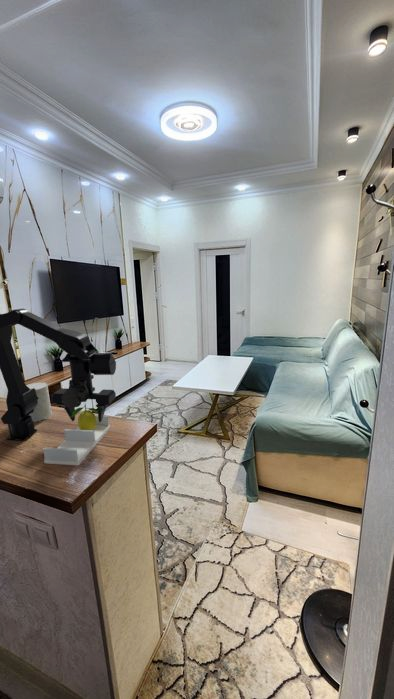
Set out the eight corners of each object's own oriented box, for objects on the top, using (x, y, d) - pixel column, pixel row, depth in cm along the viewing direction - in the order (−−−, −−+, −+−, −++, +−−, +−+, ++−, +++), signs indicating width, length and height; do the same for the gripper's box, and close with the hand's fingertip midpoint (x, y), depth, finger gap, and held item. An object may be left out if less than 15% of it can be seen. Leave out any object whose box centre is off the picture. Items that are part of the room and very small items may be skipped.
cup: (41, 422, 104) (36, 391, 101) (22, 421, 105) (16, 390, 102) (56, 412, 111) (52, 383, 109) (38, 411, 113) (33, 382, 110)
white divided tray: (44, 463, 80) (42, 448, 79) (82, 426, 100) (81, 414, 99) (78, 465, 79) (76, 450, 78) (110, 427, 99) (109, 415, 98)
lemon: (73, 437, 91) (69, 407, 89) (81, 427, 97) (78, 400, 95) (94, 437, 91) (91, 407, 89) (101, 428, 97) (98, 400, 94)
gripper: (36, 383, 83) (44, 432, 87) (98, 384, 81) (103, 435, 84) (58, 371, 94) (65, 415, 97) (114, 372, 91) (118, 417, 95)
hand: (86, 421), depth 93 cm, fingers open, 9 cm apart
